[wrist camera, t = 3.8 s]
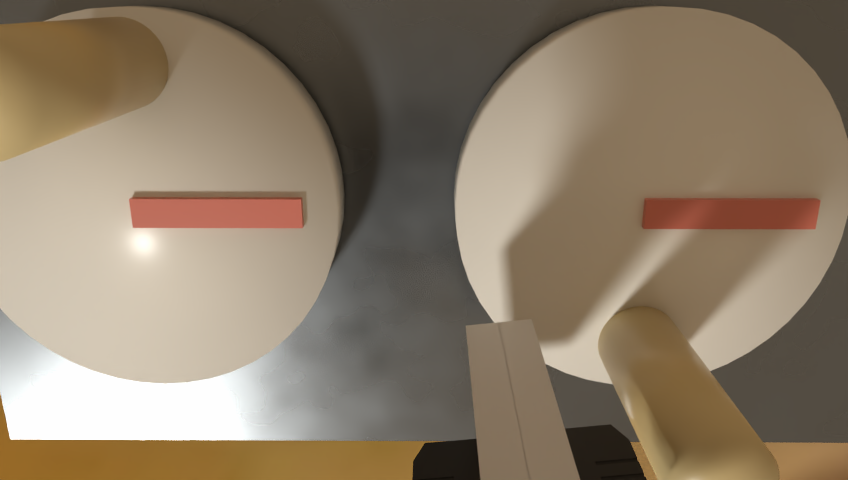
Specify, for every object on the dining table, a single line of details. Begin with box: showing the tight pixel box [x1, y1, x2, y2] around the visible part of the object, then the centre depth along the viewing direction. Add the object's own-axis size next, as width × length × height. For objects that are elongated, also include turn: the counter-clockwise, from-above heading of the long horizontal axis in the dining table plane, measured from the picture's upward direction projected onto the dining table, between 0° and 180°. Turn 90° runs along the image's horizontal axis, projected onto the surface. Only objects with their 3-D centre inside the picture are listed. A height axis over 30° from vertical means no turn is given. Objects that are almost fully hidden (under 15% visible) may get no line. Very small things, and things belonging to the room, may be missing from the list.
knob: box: [0, 6, 345, 384], centre depth 15 cm, size 9×9×7 cm
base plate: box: [0, 0, 848, 443], centre depth 19 cm, size 35×15×2 cm, turn 90°
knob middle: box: [454, 6, 848, 480], centre depth 15 cm, size 9×9×7 cm
